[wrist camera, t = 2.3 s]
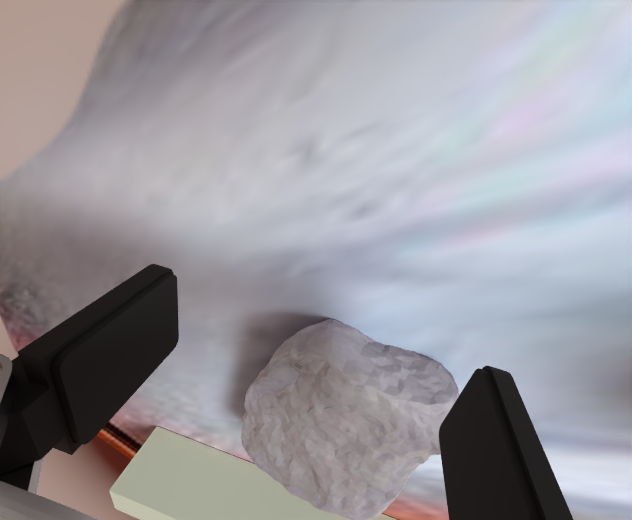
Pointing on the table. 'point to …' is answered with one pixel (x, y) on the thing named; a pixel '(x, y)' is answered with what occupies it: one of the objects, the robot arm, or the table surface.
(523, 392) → the table surface
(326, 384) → the grey rock
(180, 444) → the board
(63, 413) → the robot arm
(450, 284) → the table surface
